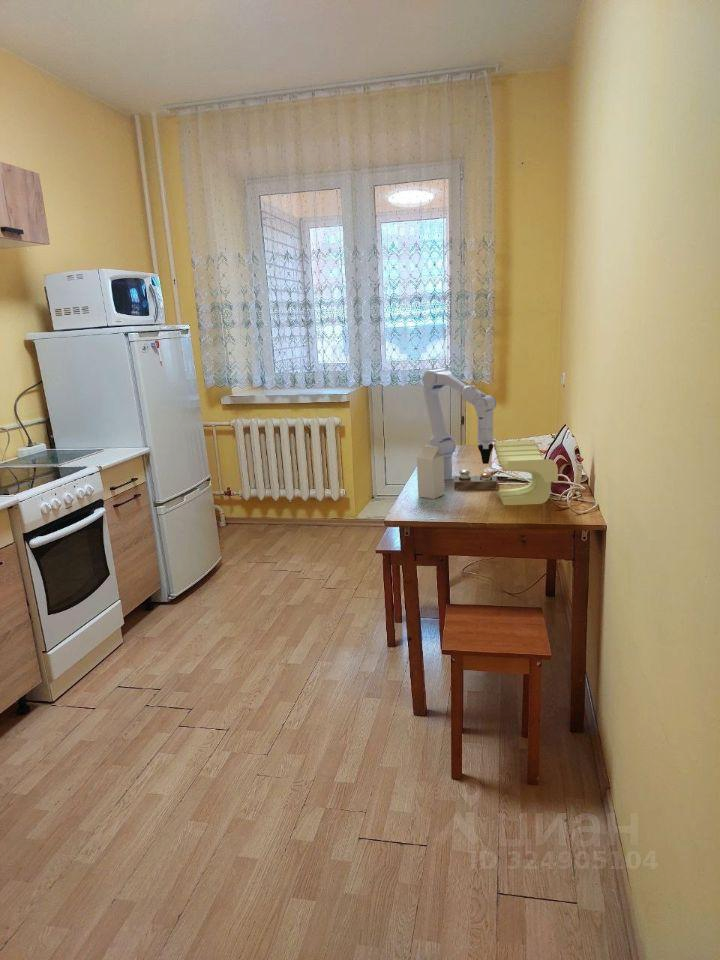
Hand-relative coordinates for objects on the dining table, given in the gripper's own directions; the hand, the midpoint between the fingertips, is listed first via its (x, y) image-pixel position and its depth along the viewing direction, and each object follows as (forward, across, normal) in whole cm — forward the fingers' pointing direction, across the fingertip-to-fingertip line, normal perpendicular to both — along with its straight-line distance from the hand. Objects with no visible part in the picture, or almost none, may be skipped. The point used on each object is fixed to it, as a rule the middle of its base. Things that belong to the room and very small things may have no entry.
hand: (485, 463), depth 225 cm
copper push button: (+9, 0, 0) cm, 9 cm away
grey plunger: (+7, 0, +8) cm, 11 cm away
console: (+9, 0, +4) cm, 10 cm away
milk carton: (+9, -12, +20) cm, 25 cm away
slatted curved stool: (+9, -16, -13) cm, 23 cm away
